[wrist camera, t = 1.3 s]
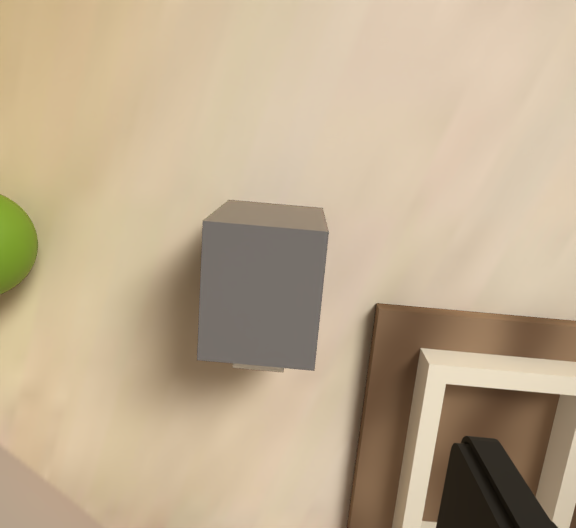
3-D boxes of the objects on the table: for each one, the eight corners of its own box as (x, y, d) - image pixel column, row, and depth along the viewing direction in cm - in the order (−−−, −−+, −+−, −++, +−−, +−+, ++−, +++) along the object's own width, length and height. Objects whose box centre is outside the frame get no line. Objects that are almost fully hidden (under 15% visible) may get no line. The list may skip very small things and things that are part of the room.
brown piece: (630, 325, 28) (668, 347, 25) (566, 563, 32) (593, 607, 29) (376, 303, 28) (385, 322, 25) (344, 542, 32) (348, 583, 29)
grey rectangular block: (322, 208, 27) (328, 231, 20) (310, 334, 28) (311, 396, 22) (228, 200, 27) (202, 220, 20) (222, 326, 28) (196, 385, 22)
